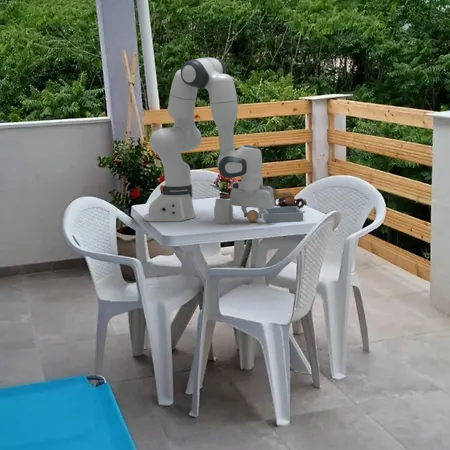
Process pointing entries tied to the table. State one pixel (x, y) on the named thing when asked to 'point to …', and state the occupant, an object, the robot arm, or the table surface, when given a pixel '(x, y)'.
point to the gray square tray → (283, 214)
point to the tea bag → (223, 211)
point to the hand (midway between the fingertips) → (252, 217)
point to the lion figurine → (280, 194)
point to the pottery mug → (290, 202)
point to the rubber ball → (252, 215)
